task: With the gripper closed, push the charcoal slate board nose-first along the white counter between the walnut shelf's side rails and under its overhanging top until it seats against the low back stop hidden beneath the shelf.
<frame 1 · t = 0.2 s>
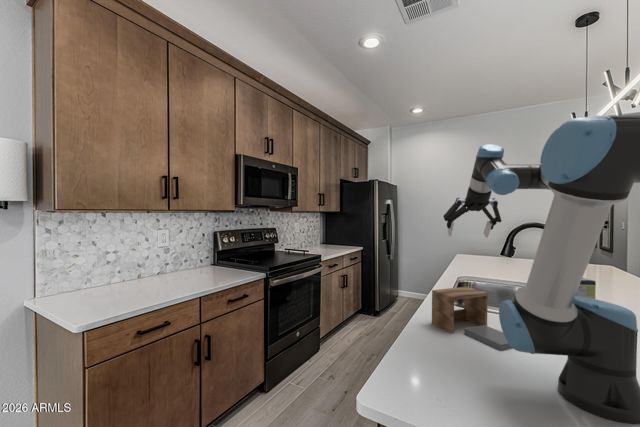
hand: (467, 234, 117), 35 cm above the countertop, tool tilted 35°, fingers open, 13 cm apart
protein box: (570, 311, 135), on the countertop
walnut shelf: (459, 325, 115), on the countertop
slate board: (491, 341, 102), on the countertop
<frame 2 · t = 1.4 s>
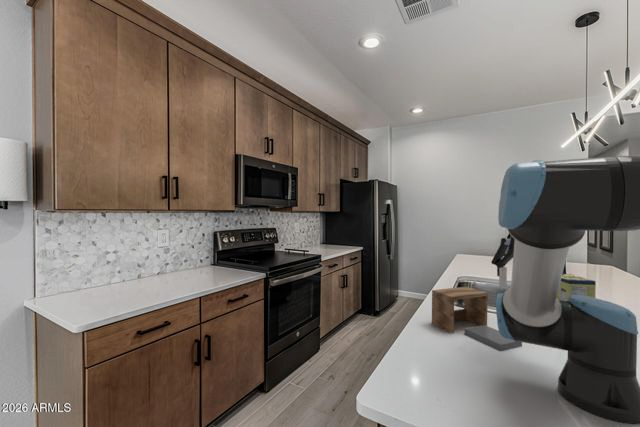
hand: (524, 292, 92), 19 cm above the countertop, tool pointing down, fingers open, 13 cm apart
nothing on the countertop moved.
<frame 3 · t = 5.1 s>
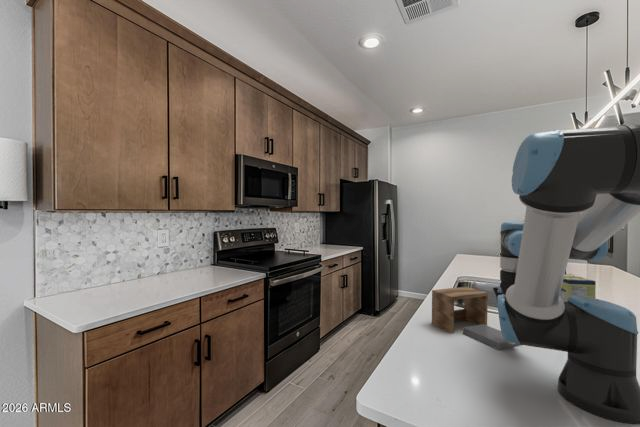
hand: (512, 342, 96), 2 cm above the countertop, tool pointing down, fingers closed
nothing on the countertop moved.
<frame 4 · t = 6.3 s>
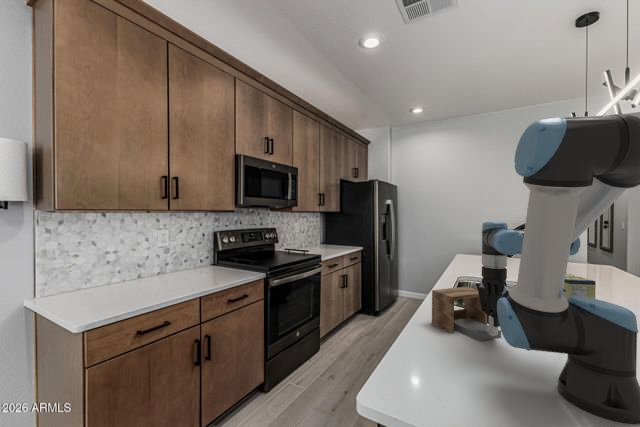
hand: (493, 334, 102), 2 cm above the countertop, tool pointing down, fingers closed
slate board: (473, 332, 109), on the countertop, touching gripper
everything else where it was.
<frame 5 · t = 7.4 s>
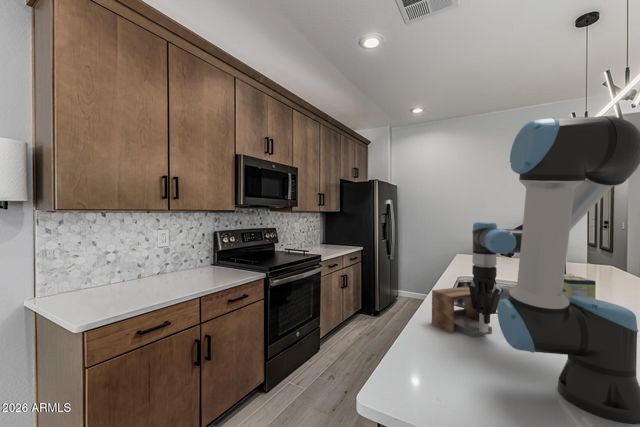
hand: (483, 331, 105), 2 cm above the countertop, tool pointing down, fingers closed
slate board: (465, 328, 112), on the countertop
everything else where it was.
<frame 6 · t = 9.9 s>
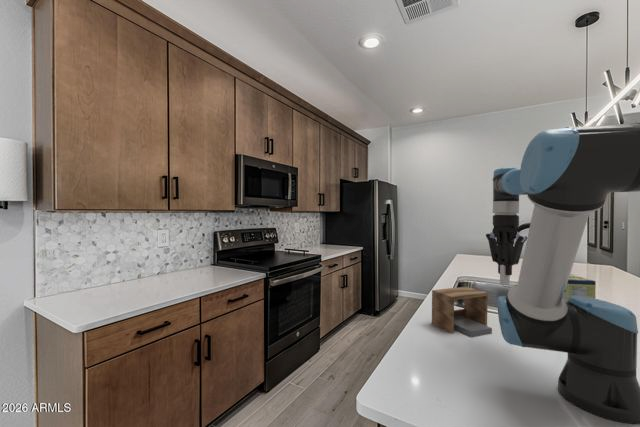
hand: (504, 284, 99), 20 cm above the countertop, tool pointing down, fingers closed
nothing on the countertop moved.
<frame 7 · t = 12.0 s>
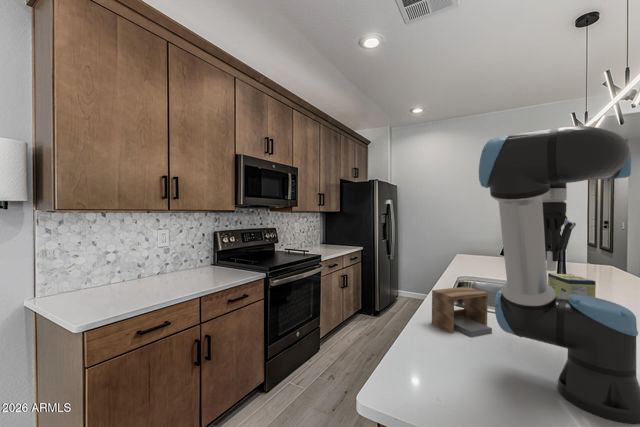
hand: (551, 270, 101), 24 cm above the countertop, tool pointing down, fingers closed
nothing on the countertop moved.
at the end: slate board 0.8 cm from the target spot on the walnut shelf, point -0.5 cm above the walnut shelf's base; slate board tilted 0° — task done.
